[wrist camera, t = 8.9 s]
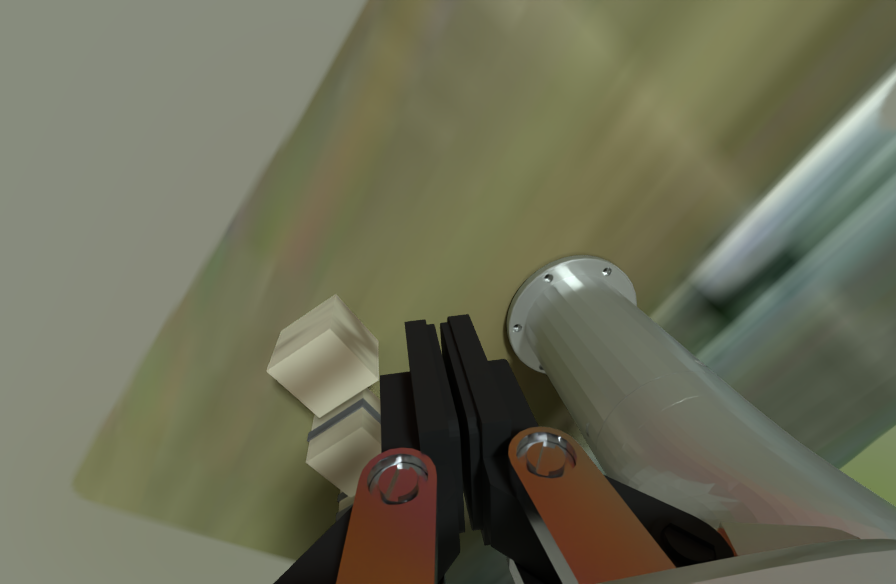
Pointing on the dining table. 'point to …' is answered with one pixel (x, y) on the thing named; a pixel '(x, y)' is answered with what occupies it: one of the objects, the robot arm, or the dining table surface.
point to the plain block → (325, 357)
